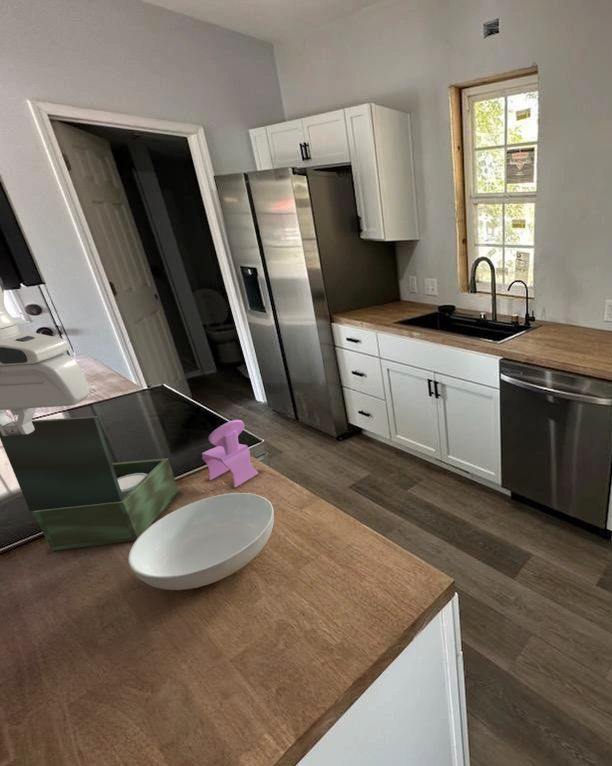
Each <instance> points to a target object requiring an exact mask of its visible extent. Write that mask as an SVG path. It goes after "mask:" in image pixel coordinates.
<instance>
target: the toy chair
mask: <svg viewBox="0 0 612 766" xmlns="http://www.w3.org/2000/svg"><path fill="white" fill-rule="evenodd" d="M244 430H245V423H244V421H243V420H241V419H233V420H229V421H228V422H225V423H223V424H222V425H219V426H218V427H217V428H216V429H214V430H213V431H212V432H211V433H210V434H209V435H208V442H209V443H210V444H211V445H213V446H215V447H213V448H210V449H208V450H206V451H204V452H202V453H201V455H202V457H201V458H202V460H203V462H204V463H205V464H206V467H207V470H208V480H209V481H212V480H213V479H215V478H218V477H219V476H221V475H223V474H225V473H227V472H228V471H230V473H231V474H232V478H233V480H232V481H233V488H237V487H239V486H240V485H242V484H243V483H245V482H247V481H249V480H250V479H252V478H254V477H255V476H257V475H258V474H259V471H257V470H256V469H255V467H253V464H252V463H251V451H250V449H249V446H248V445H247V444H242V443H239V435H240V434H241V433H242V432H243V431H244Z"/></svg>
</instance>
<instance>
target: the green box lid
mask: <svg viewBox="0 0 612 766" xmlns="http://www.w3.org/2000/svg"><path fill="white" fill-rule="evenodd" d="M31 421H32V423H33V426H34V428H35V429H34V431H33V432H31V433H29V434H25V435H11V436H3V435H2V434H1V432H0V442H1V444H2V447H3V450H4V451H5V455H6V456H7V459H8V462H9V464H10V467H11V470H12V471H13V474H14V476H15V479H16V481H17V484H18V486H19V489H20V491H21V493H22V496H23V498H24V500H25V503H26V506H27V508H28V510H29V512H34V511H37V510H47V509H56V508H66V507H75V506H84V505H94V504H103V503H113V502H121V501H122V500H123V499H124V498H123V495H122V492H121V489H120V486H119V483H118V480H117V477H116V474H115V471H114V468H113V465H112V463H113V462H112V458H111V455H110V452H109V449H108V446H107V442H106V441H105V437H104V434H103V431H102V428H101V424H100V422H99V419H98V415H97V416H96V415H91V416H83V417H82V416H79V417H66V418H65V417H64V418H62V417H61V418H49V419H47V418H46V419H35V420H34V419H32V420H31Z"/></svg>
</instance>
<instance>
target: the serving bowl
mask: <svg viewBox="0 0 612 766" xmlns="http://www.w3.org/2000/svg"><path fill="white" fill-rule="evenodd" d="M274 523H275V511H274V507H273V505H272V502H270V500H269V499H267V498H266V497H263V496H262V495H259V494H255V493H250V492H249V493H248V492H229V493H223V494H218V495H214V496H209V497H206V498H202V499H200V500H196V501H194V502H191V503H189V504H186V505H183V506H181V507H179V508H177V509H175V510H173V511H172V512H170V513H168V514H166V515H165V516H163V517H161V518H159V519H158V520H156V521H154V522H153V523H152V524H151V525H150V527H149V528H148V529H146V530H145V531H144V532H143V533H142V534H141V535H140V536H139V537H138V539H137V540H135V541H134V543H133V544H132V545H131V548H130V549H129V552H128V555H127V562H128V566H129V568H130V569H131V571H132V572H133V573H134V575H135V576H136V577H137V579H139V580H140V581H141V582H143V583H145V584H147V585H149V586H150V587H154V588H156V589H160V590H168V591H183V590H192V589H198V588H201V587H204V586H208V585H211V584H213V583H216V582H218V581H221V580H223V579H225V578H227V577H229V576H231V575H233V574H234V573H236V572H238V571H240V570H241V569H242V568H243V567H245V566H246V565H248V564H249V563H250V562H251V561H252V560H254V559H255V557H257V556H258V554H260V552H261V551H262V550H263V549H264V548H265V546H266V544H268V541H269V539H270V537H271V535H272V532H273V529H274Z"/></svg>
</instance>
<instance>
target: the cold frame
mask: <svg viewBox="0 0 612 766" xmlns="http://www.w3.org/2000/svg"><path fill="white" fill-rule="evenodd" d="M112 465H113V468H114V471H115V474H116V477H117V479H118V478H120V477H123V476H126V475H130V474H135V473H145V474H148V475H147V476H146V477H145V478H144V479H143V480H142V481H141V482H140V483H139V484H138V485H137V486H136V487H135V488H133V489H132V490H131V491H130V492H129V493H128V494H127V495H126V496H125V497H124V499H123V500H122V501H121V502H113V503H103V504H94V505H84V506H75V507H66V508H56V509H47V510H37V511H32V514H33V515H34V517H35V519H36V521H37V523H38V526H39V527H40V529H41V532H42V534H43V536H44V538H45V540H46V542H47V545H48V546H49V548H50V550H51V551H53V552H54V551H55V552H56V551H63V550H71V549H78V548H86V547H94V546H102V545H110V544H118V543H125V542H135V541H136V540H137V539H138V537H139V536H140V535H141V534H142V533H143V532H144V531H145V530H146V529H148V528H149V527H150V526H151V525H153V524H154V523H155V522H156V520H157V518H158V517H159V516H160V515H161V514H162V512H164V510H165V509H166V508H167V506H169V504H170V503H171V502H172V501H173V500H174V498H175V497H176V496H177V495H178V494H179V492H180V490H179V488H178V484H177V482H176V478H175V475H174V471H173V470H172V466H171V463H170V460H169V458H167V457H166V458H155V459H143V460H134V461H133V460H132V461H121V462H112Z"/></svg>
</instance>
